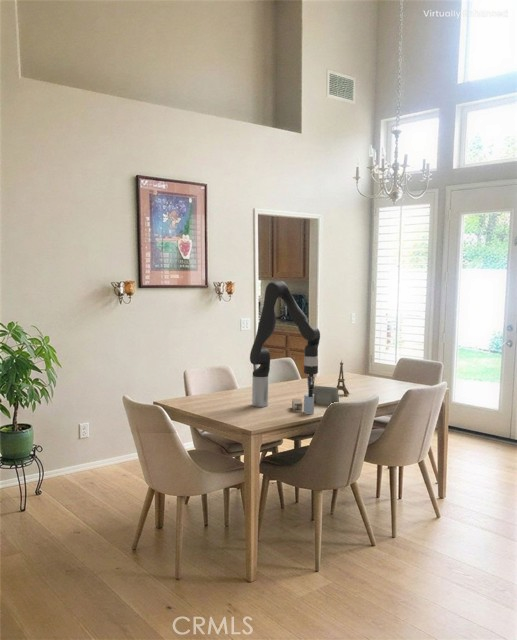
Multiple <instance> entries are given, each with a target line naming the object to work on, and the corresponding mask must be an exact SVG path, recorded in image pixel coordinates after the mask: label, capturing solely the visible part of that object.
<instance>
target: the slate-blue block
mask: <svg viewBox="0 0 517 640" xmlns="http://www.w3.org/2000/svg"><path fill="white" fill-rule="evenodd" d="M303 396H304V397H303V413H304V414H309V415H314V414H315V412H314V411H315V408H314V407H315V402H314V394H313V397H309V396H308V393H304V394H303Z"/></svg>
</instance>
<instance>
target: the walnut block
mask: <svg viewBox="0 0 517 640" xmlns="http://www.w3.org/2000/svg"><path fill="white" fill-rule="evenodd" d="M291 402H292V403H291V404H292V405H291V408H292V412H303V399H301V398H292V400H291Z"/></svg>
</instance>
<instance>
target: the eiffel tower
mask: <svg viewBox="0 0 517 640" xmlns="http://www.w3.org/2000/svg"><path fill="white" fill-rule="evenodd" d="M339 365H340V367H339V374H338V375H339V376H338V379H337V385H336V388H338V391H339V390H340V391H343V397H346V398H347V397H349V395H351V394H350V392H349V390H348V389H347V387H346V384H345V377H344V369H343V368H344V366H343V365H344V362H343V360H341V362H339ZM340 384H341V385H340Z"/></svg>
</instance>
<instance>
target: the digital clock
mask: <svg viewBox="0 0 517 640" xmlns="http://www.w3.org/2000/svg"><path fill="white" fill-rule="evenodd" d="M313 394H314V403H315V405H319V406H320V405H321V406H331V405H330V404H331V403H334V402H339V403H340V397H339V390H338V388H337V387H333V386H324V385H314V389H313Z"/></svg>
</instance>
